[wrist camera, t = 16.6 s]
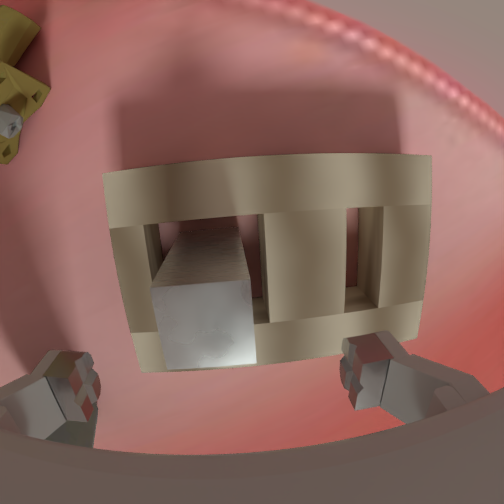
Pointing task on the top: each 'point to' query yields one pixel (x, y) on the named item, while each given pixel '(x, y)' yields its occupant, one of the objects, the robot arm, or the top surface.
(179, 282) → the square bit
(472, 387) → the robot arm
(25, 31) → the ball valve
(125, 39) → the top surface
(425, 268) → the tan flat slatted block
